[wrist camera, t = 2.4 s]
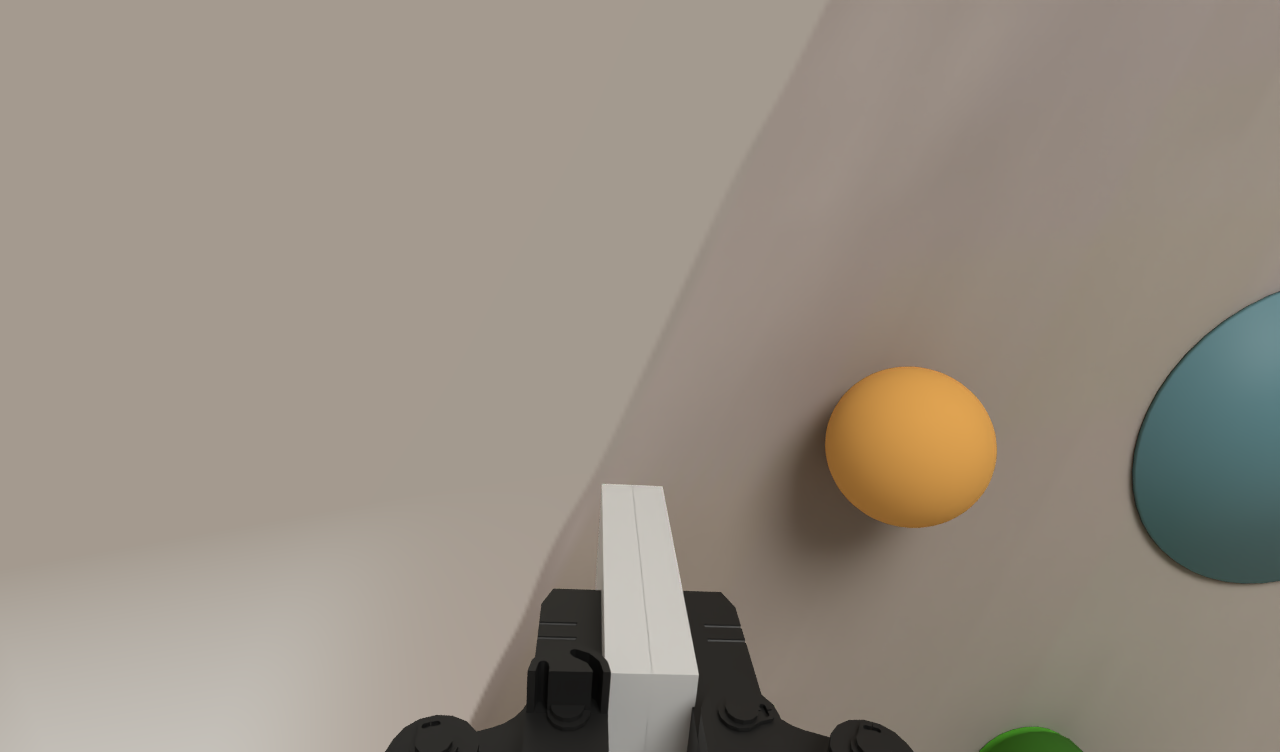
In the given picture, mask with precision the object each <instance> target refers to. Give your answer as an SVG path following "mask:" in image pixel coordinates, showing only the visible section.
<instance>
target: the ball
mask: <svg viewBox="0 0 1280 752" xmlns="http://www.w3.org/2000/svg"><path fill="white" fill-rule="evenodd" d="M825 452H826V457H827V462H828V467H829V469H830V472H831V475H832V477H833V479H834V481H835V483H836V484H837V486H838V488H839V489H840V491H841V492H842V493H843V495H844V496H845V497H846V498H847V499H848V500H849V501H850V502H851V503H852V504H853V505H854V506H855V507H857V508H858V509H859V510H861V511H862V512H863V513H865V514H866V515H868V516H870V517H872V518H874V519H876V520H878V521H881V522H884V523H886V524H890V525H894V526H899V527H907V528H921V527H929V526H934V525H938V524H942V523H944V522H947V521H950V520H952V519H954V518H956V517H957V516H959V515H961V514H962V513H964V512H965V511H966V510H968V509H969V508H970V507H971V506H972V505H973V504H974V503H975V502H976V501H977V500H978V499H979V498H980V497H981V495H982V494H983V493H984V491H985V490H986V488H987V486H988V484H989V482H990V480H991V477H992V474H993V471H994V468H995V463H996V456H997V446H996V436H995V432H994V428H993V425H992V422H991V420H990V418H989V415H988V413H987V412H986V410H985V408H984V407H983V405H982V404H981V402H980V401H979V400H978V399H977V398H976V396H975V395H974V394H973V393H972V392H971V391H969V390H968V389H967V388H966V387H965V386H964V385H962V384H961V383H960V382H958V381H956V380H955V379H953V378H951V377H949V376H947V375H945V374H943V373H940V372H937V371H934V370H930V369H926V368H920V367H896V368H890V369H886V370H882V371H879V372H876V373H874V374H871V375H870V376H868V377H866V378H864V379H862V380H861V381H859V382H858V383H856V384H855V385H854V386H853V387H851V388H850V389H849V390H848V391H847V392H846V393H845V394H844V395H843V397H842V398H841V399H840V401H839V402H838V404H837V405H836V407H835V408H834V410H833V412H832V414H831V417H830V419H829V422H828V426H827V430H826V440H825Z"/></svg>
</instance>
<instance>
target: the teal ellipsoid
mask: <svg viewBox="0 0 1280 752" xmlns="http://www.w3.org/2000/svg"><path fill="white" fill-rule="evenodd" d="M1132 473H1133V492H1134V497H1135V502H1136V507H1137V510H1138V512H1139V515H1140V518H1141V521H1142V523H1143V525H1144V526H1145V528H1146V530H1147V532H1148V533H1149V535H1150V537H1151V538H1152V539H1153V540H1154V542H1155V543H1156V544H1157V545H1158V546H1159V547H1160V549H1161V550H1162V551H1164V552H1165V553H1166V554H1167V555H1168V556H1170V557H1171V558H1172V559H1173V560H1175V561H1176V562H1177V563H1179V564H1181V565H1182V566H1184V567H1186V568H1187V569H1189V570H1191V571H1193V572H1195V573H1198V574H1200V575H1203V576H1205V577H1208V578H1212V579H1217V580H1221V581H1225V582H1234V583H1267V582H1275V581H1280V291H1279V292H1277V293H1274V294H1271V295H1269V296H1267V297H1265V298H1263V299H1261V300H1259V301H1257V302H1255V303H1253V304H1251V305H1249V306H1247V307H1245V308H1243V309H1242V310H1240V311H1239V312H1237V313H1236V314H1234V315H1232V316H1231V317H1229V318H1228V319H1226V320H1225V321H1223V322H1222V323H1221V324H1220V325H1218V326H1217V327H1216V328H1214V329H1213V330H1212V331H1211V332H1209V333H1208V334H1207V335H1206V336H1204V337H1203V338H1202V339H1201V340H1200V341H1199V342H1198V343H1197V344H1196V345H1195V346H1194V347H1193V348H1192V349H1191V350H1190V351H1189V352H1188V353H1187V354H1186V355H1185V356H1184V358H1183V359H1182V360H1181V361H1180V362H1179V363H1178V365H1177V366H1176V367H1175V368H1174V369H1173V371H1172V372H1171V373H1170V375H1169V376H1168V378H1167V379H1166V381H1165V382H1164V383H1163V385H1162V386H1161V388H1160V389H1159V391H1158V393H1157V394H1156V396H1155V398H1154V400H1153V402H1152V404H1151V406H1150V408H1149V410H1148V411H1147V414H1146V417H1145V419H1144V422H1143V424H1142V427H1141V429H1140V432H1139V436H1138V440H1137V444H1136V448H1135V453H1134V461H1133V470H1132Z"/></svg>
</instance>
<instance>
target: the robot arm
mask: <svg viewBox="0 0 1280 752" xmlns="http://www.w3.org/2000/svg"><path fill="white" fill-rule="evenodd" d="M740 626H741V625H740V622H739V618H738V615H737V612H736V608H735V607H734V606H733V605H732V604H731V602H730V601H729V600H728V599H727V598H726V597H725V596H724V595H723V594H722V593H721V592H699V591H683V590H682V585H681V580H680V575H679V570H678V564H677V559H676V554H675V549H674V544H673V538H672V533H671V528H670V523H669V518H668V513H667V507H666V502H665V497H664V492H663V487H662V486H643V485H619V484H602V491H601V506H600V521H599V536H598V551H597V566H596V590H578V589H553V590H552V591H551V593H550V594H549V595H548V596H547V598H546V599H545V600H544V601H543V603H542V605H541V613H540V621H539V630H538V640H537V647H536V655H535V658H534V659H532V661H531V664H530V666H529V669H528V676H527V704H526V706H525V707H524V709H523V710H522V711H521V712H520V713H519V714H518V715H517V716H515V717H514V718H513V719H511V720H509V721H507V722H506V723H504V724H501V725H498V726H496V727H493V728H489V729H485V730H481V731H477V732H476V731H475V730H474V729H473V728H472V727H471V726H470V725H469V723H468V722H467V721H464V720H462V719H459V718H457V717H454V716H445V715H435V716H431V717H426V718H422V719H419V720H417V721H415V722H414V723H412V724H410V725H408V726H406V727H405V728H404V729H403V730H402V731H401V732H400V733H399V734H398V735H397V736H396V737H395V738H394V739H393V741H392V742H391V744H390V745H389V747H388V749H387V750H386V751H385V752H913V750H912V749H911V748H910V747H909V745H908V744H907V743H906V742H905V741H904V740H902V739H901V738H900V737H899V736H898V735H897V734H896V733H895V732H893V731H891V730H889V729H888V728H886V727H884V726H882V725H880V724H877V723H874V722H870V721H866V720H848V721H846V722H843V723H841V724H839V725H837V726H836V728H835V729H834V730H833V732H832V733H831V735H830V737H826V736H823V735H819V734H816V733H812V732H809V731H805V730H802V729H800V728H797V727H794V726H792V725H790V724H788V723H787V722H785V721H783V720H781V718H780V716H779V714H778V712H777V710H776V709H775V707H774V705H773V704H772V703H771V702H769V701H768V700H767V699H766V698H765V697H764V696H762V695H761V692H760V688H759V685H758V682H757V678H756V675H755V672H754V668H753V665H752V662H751V658H750V655H749V652H748V648H747V645H746V643H745V638H744V635H743V632H742V629H741V628H740Z"/></svg>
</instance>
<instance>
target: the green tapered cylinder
mask: <svg viewBox="0 0 1280 752" xmlns="http://www.w3.org/2000/svg"><path fill="white" fill-rule="evenodd" d="M980 752H1083V751H1082V750H1081V749H1080V748H1079V747H1078V746H1076V745H1075V744H1074V743H1073V742H1072V741H1071V740H1070V739H1068V738H1066V737H1064V736H1062V735H1060V734H1059V733H1057V732H1054V731H1052V730H1050V729H1046V728H1041V727H1023V728H1018V729H1013V730H1011V731H1008V732H1006V733H1003V734H1001V735H999V736H997V737H996V738H994V739H993V740H991V741H990V742H988V743H987V744H986V745H985V746H984V747H983V748H982V749H981V750H980Z"/></svg>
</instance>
